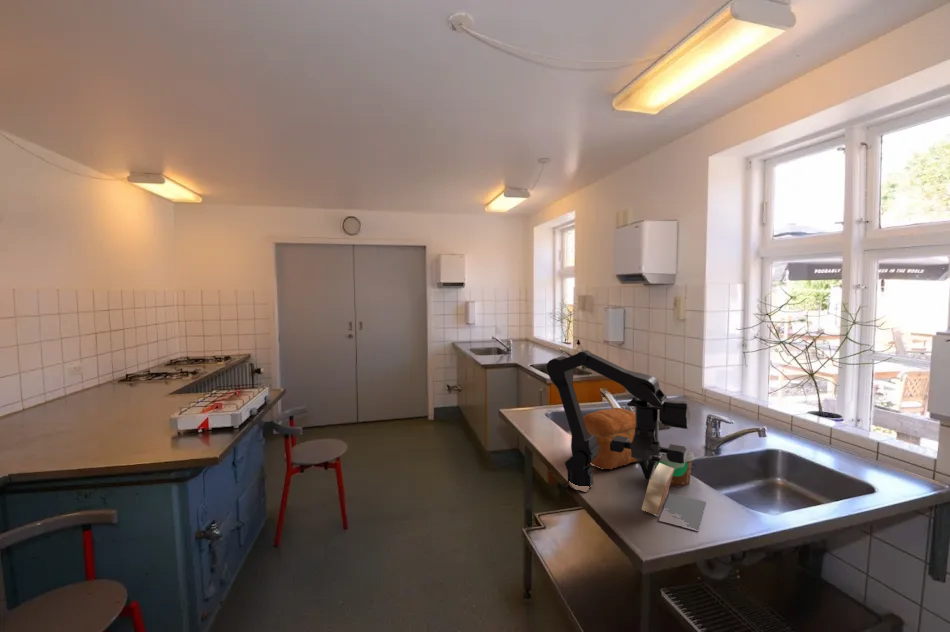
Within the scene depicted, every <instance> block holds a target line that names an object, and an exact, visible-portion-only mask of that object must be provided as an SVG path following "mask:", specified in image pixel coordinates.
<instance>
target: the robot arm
mask: <svg viewBox="0 0 950 632" xmlns="http://www.w3.org/2000/svg"><path fill="white" fill-rule="evenodd" d="M581 366H583V367H585V368H587V369H589V370H591V371H593V372H595V373H597V374H600V375H601V376H602V377H603V376H604V377H605V378H607V379H610V380H612V381H613V382H615V383H617V384H619V385H620V386H622V387H623V388H624V389H625V390H626V391H627V392H628V393H629V394H631V395H632V396H633V397H632V399H631V400H630V401H629V402H627V404H626V405H627V406H628V407H634V408H635V411H634V413H635V419H636V428H635V434H634V437H633V440H632V442H630V440H629V437H622V436H616V437H614V438H613V439H612V441H611V442H610V450H611V451H615V452H620V453H621V452H622V451H623V450H624V448H627V449H631V454H632V455H631V456H632V457H633V458H636V459H637V460H638V461H637V462H638V464H639V465H640V468H641V471H642V474H643V476H644V478H645V480H646V481H649V480H650V478H651V476H652V474H653V472H654V468H655V463H656V462H660V461H661V459H662V457H663V456H664V455H667V459H668V460H669V461H670V462H675V463H681V464H682V463H684V462H685V460H686V457H687V454H688V450H687V448H686V447H685V446H684V445H678V444H672V443H671V444H669V446H668V447H664V446H661V443H660V440H659V421H660V423H661V424H662V425H663V426H664V427H669V428H676V429H677V428H678V429H682V430H683V429H684V430H689V428H690V424H691V423H690V422H691V412H690V409H689V403H688V401H674V400H668V397H667V395H666V394H665V393H664V392H663V391H662V389H661V388H660V383H659V381H658V379H657V378H655V377H654V376H653V375H648V374H646V373H642V372H638V371H632V370H628V369H627V368H624V367H622V366H620V365H619V364H616V363H613V362H611V361H609V360H607V359H605V358H603V357H601V356H598V354H595V353H592V352H591V351H590V350H587V349H585V350H581V351H579V352H578V353H575V354H573V355H570V356H565V355H561V356H560V355H559V356H557V357H555V358H552V359H550V360H548V362H547V364H546V366H545V370H546V373H547V375H548V376H549V379H550V381H551V382H552V384H553V385H554V386H555V387H556V388H557V391H558V394H559V397H560V400H561V404H562V407H563V410H564V414H565V416H566V417H565V418H566V421H567V423H568V427H569V431H570V434H571V441H570V442H571V443H570V450H571V456H570V457H569V458H568V459H566V461H565V462H564V465H565V469H566V470H567V484H565V488H566V489H569V490H570V489H571V487H570V486H569V485H568V482H569V481H570V482H571V483H573V484H575V485H578V486H589V487H590V486H591V485H592V484H593V485H594V472H593V471H592V466H591V465H589V464H590V463H591V462H592V461H593V460H594V459H595V458H596V457H597V455H598V453H599V451H598V449H599V448H600V446H599V445H598V443H597V439H596V435H592V436H591V435H590V434H589V432H588V431H587V429H586V426H585V423H584V419H583V417H584V416H583V413H582V410H581V407H580V404H579V400H578V397H577V394H576V391H575V388H574V369H576V368H578V367H581ZM571 490H572V489H571Z"/></svg>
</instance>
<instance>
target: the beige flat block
mask: <svg viewBox="0 0 950 632" xmlns="http://www.w3.org/2000/svg"><path fill="white" fill-rule="evenodd" d="M673 472H674V468H671V467H669V466H666V465H664V464H662V463H659V464H658V466H657V468H656V469H654V470H653V472H652V474H651V477H650V479H649V480H648V484H647V487H646V493H645V495H644V496H645V497H644V499H643V503H642V505H641V506H642V507H641V511H643V512H645V511H646V512H645V513H647V512H650V513H652V514H656V515H658V514H659V515H660V513H661V511H662V509H663V507H664V505H665V502H666V500H667V498H668V493H669V491H670V483H671V480H672V476H673ZM665 499H666V500H665ZM664 501H665V502H664ZM660 510H661V511H660ZM659 512H660V513H659ZM659 515H658V516H659Z"/></svg>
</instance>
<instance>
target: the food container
mask: <svg viewBox="0 0 950 632" xmlns="http://www.w3.org/2000/svg"><path fill="white" fill-rule="evenodd" d="M694 460H695V454H694V452H693V451H691V452H688V453H687V457H686V460H685V462H684V463H682V464H681V463H675V462H670V461H669V460H668V459H667V455H664V456H663V457H662V459H661V461H660V462H656V463H655V466H654V468H655V469H656V468H657V466H658V464H659V463H662V464H664V465H666V466H669V467H671V468H674V472H673V476H672V480H671V483H670V486H671V487H677V486H681V487H686V485H687V486H689V485H690V481H691V475H692V474H691V473H692V466H693V461H694ZM655 469H654V470H655ZM688 484H689V485H688Z"/></svg>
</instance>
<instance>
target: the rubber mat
mask: <svg viewBox="0 0 950 632" xmlns="http://www.w3.org/2000/svg"><path fill="white" fill-rule="evenodd" d="M706 503H707V502H706V501H704V500H700V499H695V498H691V497H687V496H683V495H677V494H673V493H669V495H667V497H666V500H665V502H664V504H663V507H664V508H668V509H669V510H666V511H668V512H669V513H671V514H675V513H677V514H679V515H682V516H680V517H681V518H677V517H676V516H672V517H674V518H677V519H681V520H684V522H686V523H689V524H686V525H687V527H691V528H694V529H696V530H698V529H699V530H700V527H699V526H701V523H702V519H703V516H702V515H704V512H705V508H706ZM703 511H704V512H703ZM700 522H701V523H700ZM699 530H698V531H699Z"/></svg>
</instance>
